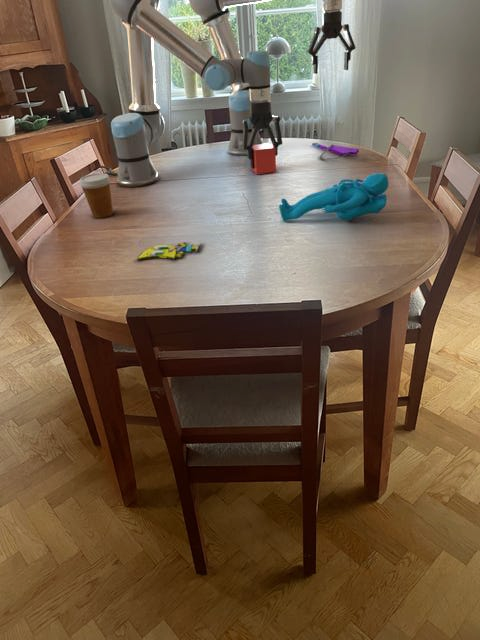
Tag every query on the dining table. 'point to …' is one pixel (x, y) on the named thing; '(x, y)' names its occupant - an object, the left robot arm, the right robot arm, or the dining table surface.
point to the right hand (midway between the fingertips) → (330, 71)
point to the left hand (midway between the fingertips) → (263, 166)
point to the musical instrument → (337, 150)
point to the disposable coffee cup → (98, 194)
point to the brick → (264, 158)
